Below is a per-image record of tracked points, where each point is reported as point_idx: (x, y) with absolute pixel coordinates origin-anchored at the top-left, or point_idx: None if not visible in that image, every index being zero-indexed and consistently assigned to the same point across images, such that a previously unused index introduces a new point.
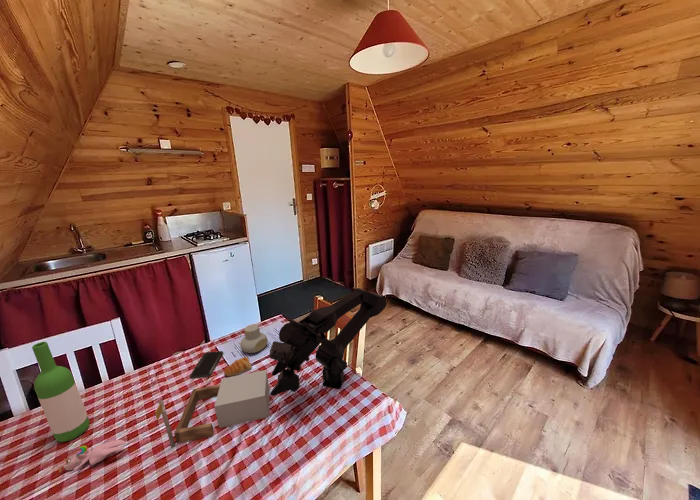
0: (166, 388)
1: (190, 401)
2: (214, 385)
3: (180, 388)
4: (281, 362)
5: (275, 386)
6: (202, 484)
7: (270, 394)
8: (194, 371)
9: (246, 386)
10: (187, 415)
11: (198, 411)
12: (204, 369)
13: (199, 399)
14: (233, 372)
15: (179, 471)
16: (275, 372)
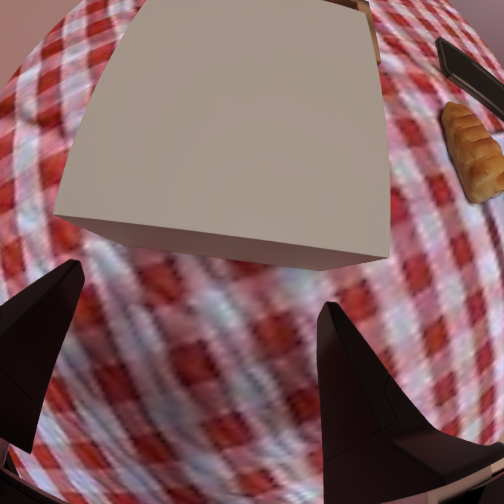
0: (403, 2)
1: None
2: (376, 39)
3: (400, 16)
4: (362, 442)
5: (7, 310)
6: (24, 74)
7: (70, 260)
8: (457, 51)
9: (232, 85)
10: None
11: None
12: (466, 71)
13: None
14: (452, 125)
15: (90, 21)
16: (325, 339)
